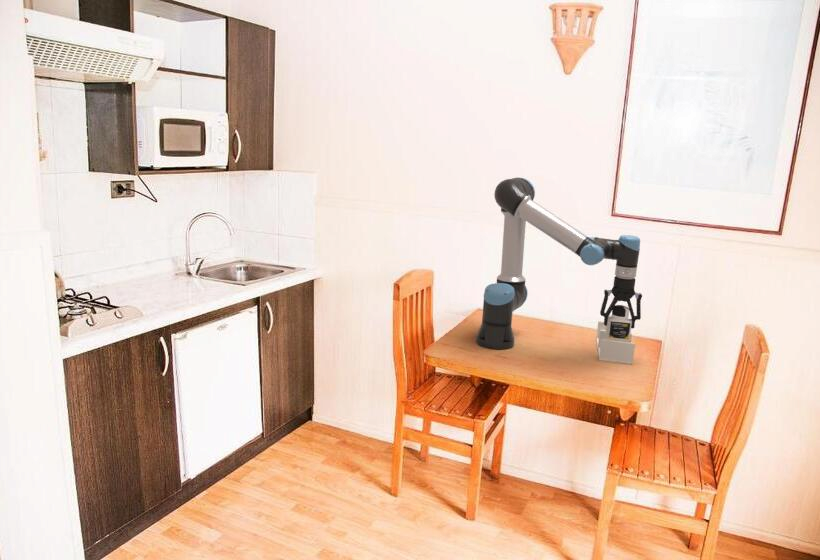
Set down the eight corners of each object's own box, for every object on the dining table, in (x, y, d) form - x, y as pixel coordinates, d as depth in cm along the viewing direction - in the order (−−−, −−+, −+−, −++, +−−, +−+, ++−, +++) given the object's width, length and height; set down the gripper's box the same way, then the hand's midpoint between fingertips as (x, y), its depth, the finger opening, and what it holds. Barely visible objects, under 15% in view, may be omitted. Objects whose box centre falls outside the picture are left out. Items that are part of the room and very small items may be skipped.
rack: (599, 360, 236) (601, 340, 234) (596, 339, 259) (598, 321, 257) (632, 364, 233) (635, 344, 231) (626, 342, 257) (628, 324, 255)
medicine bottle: (608, 338, 236) (612, 307, 233) (606, 332, 243) (610, 302, 240) (628, 340, 234) (632, 309, 232) (625, 334, 241) (629, 304, 238)
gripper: (597, 276, 232) (590, 334, 237) (654, 281, 227) (646, 341, 233) (596, 272, 239) (590, 328, 244) (652, 277, 234) (644, 334, 240)
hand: (617, 334), depth 238 cm, fingers closed on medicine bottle, 7 cm apart
